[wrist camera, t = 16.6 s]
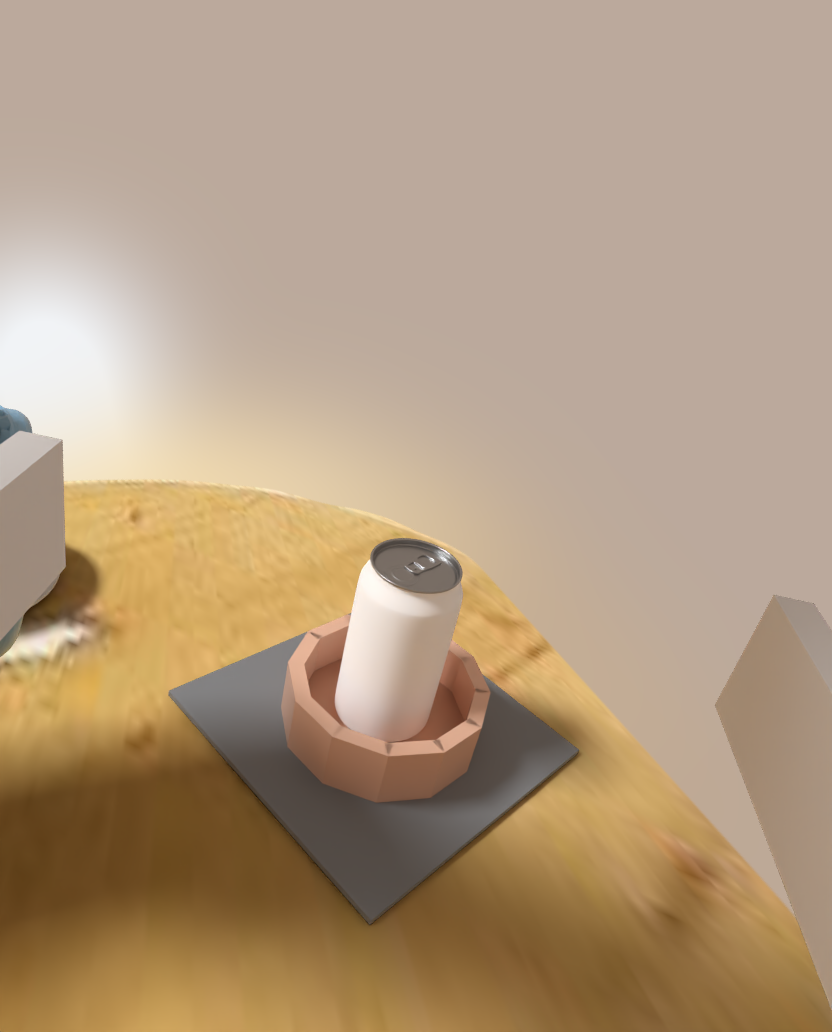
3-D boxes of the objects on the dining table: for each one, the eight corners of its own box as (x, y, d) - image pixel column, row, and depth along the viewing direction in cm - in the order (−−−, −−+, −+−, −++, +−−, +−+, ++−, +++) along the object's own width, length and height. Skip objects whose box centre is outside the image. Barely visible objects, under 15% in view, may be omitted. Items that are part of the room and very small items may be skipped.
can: (312, 706, 50) (340, 556, 45) (374, 663, 55) (406, 523, 49) (388, 763, 47) (428, 611, 42) (446, 713, 52) (489, 570, 47)
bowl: (243, 701, 51) (249, 655, 49) (383, 635, 60) (393, 594, 58) (374, 838, 44) (387, 791, 42) (510, 740, 53) (526, 697, 51)
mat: (168, 695, 50) (168, 690, 50) (384, 602, 64) (385, 598, 64) (369, 925, 40) (371, 920, 40) (577, 753, 54) (579, 749, 53)
